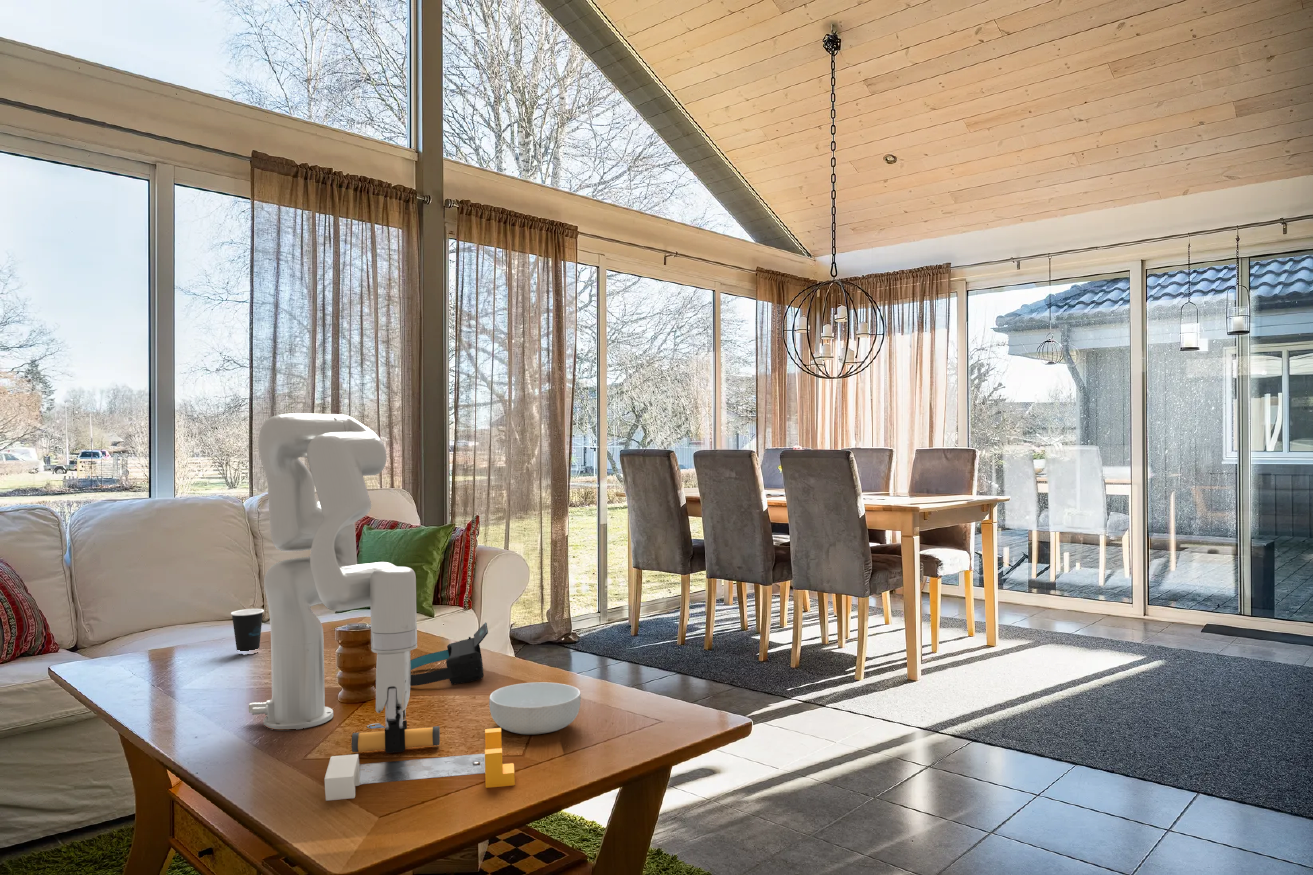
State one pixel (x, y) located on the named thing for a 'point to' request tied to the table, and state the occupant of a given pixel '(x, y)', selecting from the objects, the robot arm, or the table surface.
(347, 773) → the white u-shaped block
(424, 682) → the virtual reality headset
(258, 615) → the dixie cup
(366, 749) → the handle
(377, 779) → the mounting plate
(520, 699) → the cereal bowl
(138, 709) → the table surface
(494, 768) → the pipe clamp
